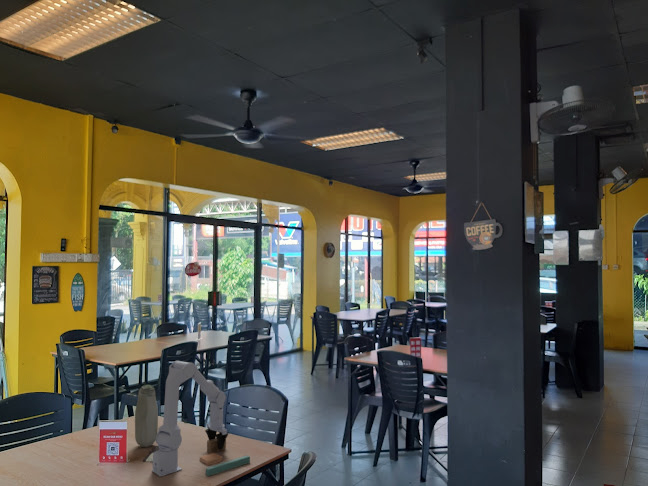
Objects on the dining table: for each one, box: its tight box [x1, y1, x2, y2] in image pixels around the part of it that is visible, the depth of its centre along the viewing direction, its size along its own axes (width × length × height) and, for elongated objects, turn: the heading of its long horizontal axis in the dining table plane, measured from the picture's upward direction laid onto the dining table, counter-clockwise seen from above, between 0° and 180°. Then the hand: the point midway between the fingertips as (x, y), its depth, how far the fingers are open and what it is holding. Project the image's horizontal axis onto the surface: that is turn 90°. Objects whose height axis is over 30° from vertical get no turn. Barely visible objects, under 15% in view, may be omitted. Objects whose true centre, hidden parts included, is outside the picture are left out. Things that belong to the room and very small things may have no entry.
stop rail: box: [205, 455, 251, 477], centre depth 205 cm, size 20×2×2 cm, turn 133°
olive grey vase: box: [134, 384, 159, 448], centre depth 232 cm, size 10×10×28 cm
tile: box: [199, 452, 223, 466], centre depth 213 cm, size 7×7×2 cm
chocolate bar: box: [142, 445, 160, 463], centre depth 221 cm, size 9×1×18 cm
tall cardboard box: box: [206, 438, 227, 454], centre depth 225 cm, size 8×3×5 cm, turn 133°
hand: (216, 447), depth 225 cm, fingers open, 7 cm apart
